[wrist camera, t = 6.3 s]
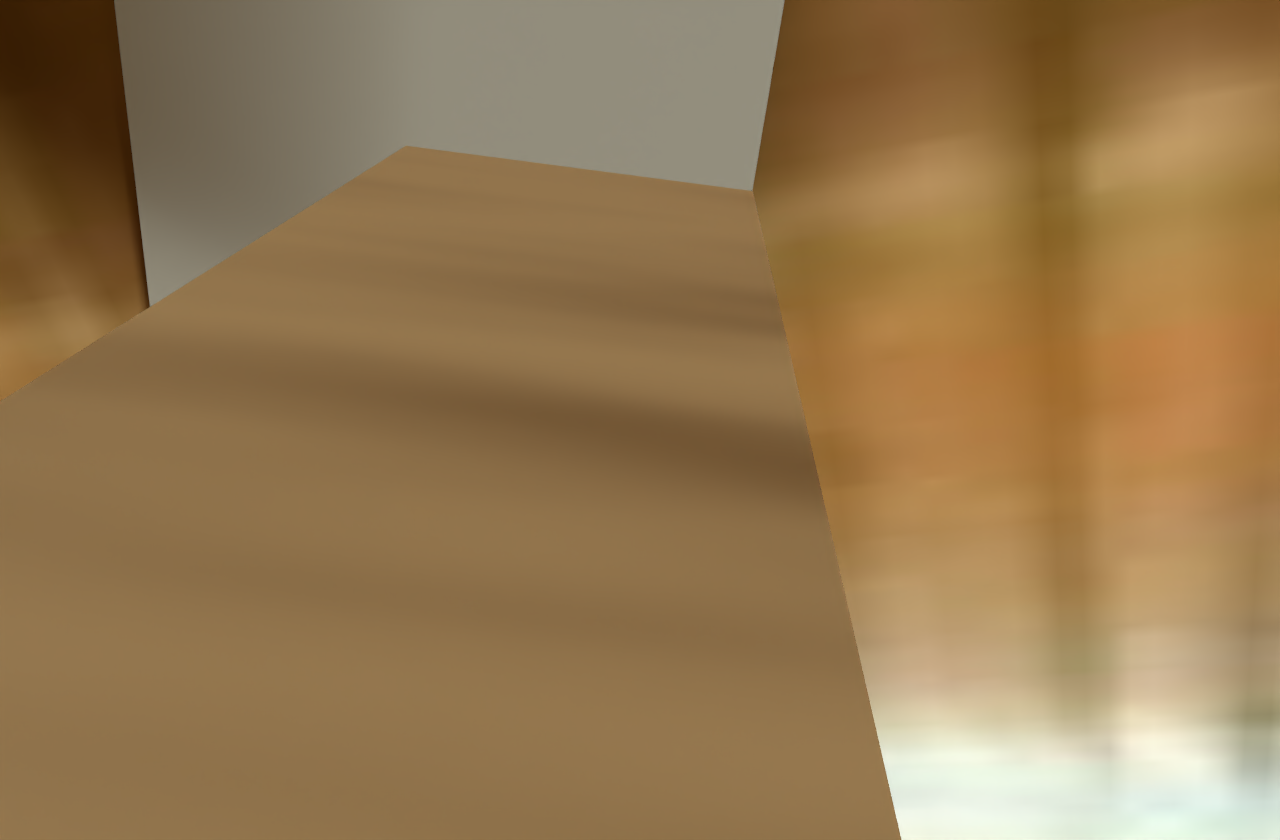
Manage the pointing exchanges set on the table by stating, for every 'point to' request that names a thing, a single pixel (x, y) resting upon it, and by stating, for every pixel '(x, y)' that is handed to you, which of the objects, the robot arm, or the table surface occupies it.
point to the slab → (436, 536)
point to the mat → (420, 100)
